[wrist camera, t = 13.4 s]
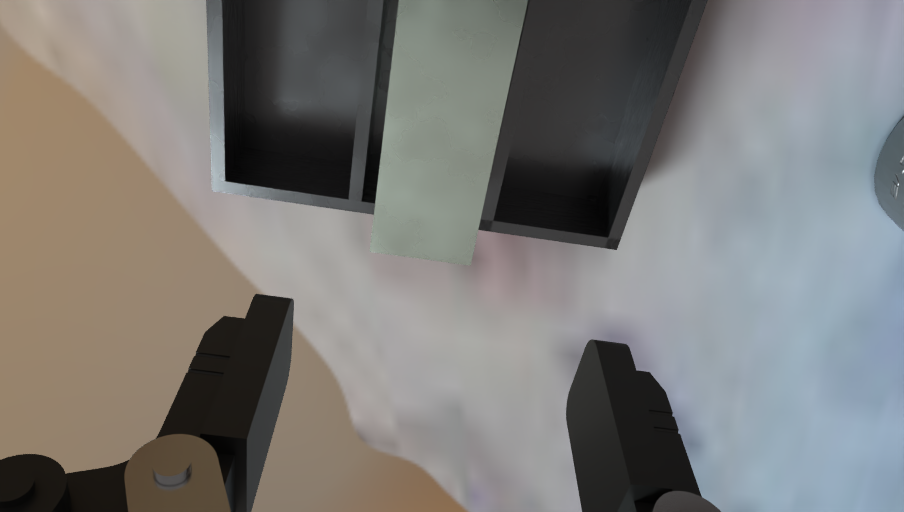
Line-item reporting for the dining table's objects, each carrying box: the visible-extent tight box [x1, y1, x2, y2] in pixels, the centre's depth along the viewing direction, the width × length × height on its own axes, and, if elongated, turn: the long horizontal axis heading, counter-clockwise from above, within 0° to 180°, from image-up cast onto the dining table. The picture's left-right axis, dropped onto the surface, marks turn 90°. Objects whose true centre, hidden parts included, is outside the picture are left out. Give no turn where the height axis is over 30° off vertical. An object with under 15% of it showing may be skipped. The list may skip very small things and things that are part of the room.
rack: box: [206, 0, 707, 250], centre depth 30 cm, size 19×16×4 cm
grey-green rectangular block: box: [370, 0, 528, 265], centre depth 28 cm, size 4×12×9 cm, turn 171°
